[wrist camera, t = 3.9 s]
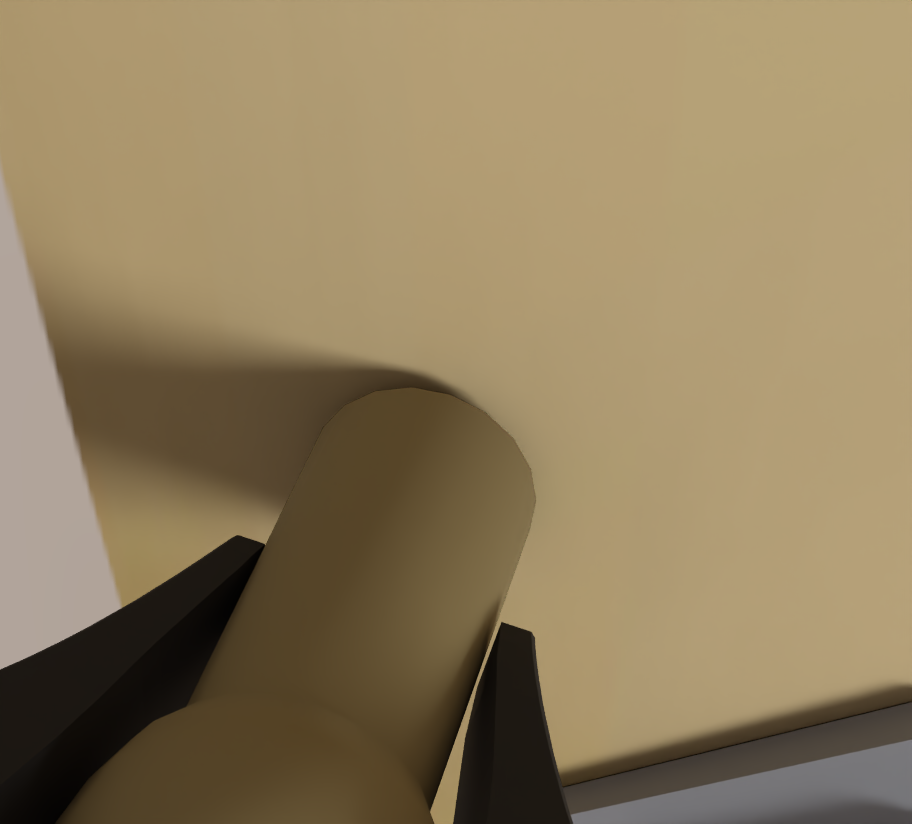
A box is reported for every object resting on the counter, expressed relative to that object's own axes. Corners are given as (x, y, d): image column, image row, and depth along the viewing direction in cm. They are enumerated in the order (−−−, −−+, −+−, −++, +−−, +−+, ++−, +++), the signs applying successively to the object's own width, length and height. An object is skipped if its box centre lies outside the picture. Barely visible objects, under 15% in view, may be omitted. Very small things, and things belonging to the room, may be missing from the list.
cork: (570, 435, 14) (535, 1135, 5) (495, 606, 17) (380, 1243, 8) (330, 354, 14) (-170, 864, 5) (297, 536, 17) (-51, 1071, 8)
